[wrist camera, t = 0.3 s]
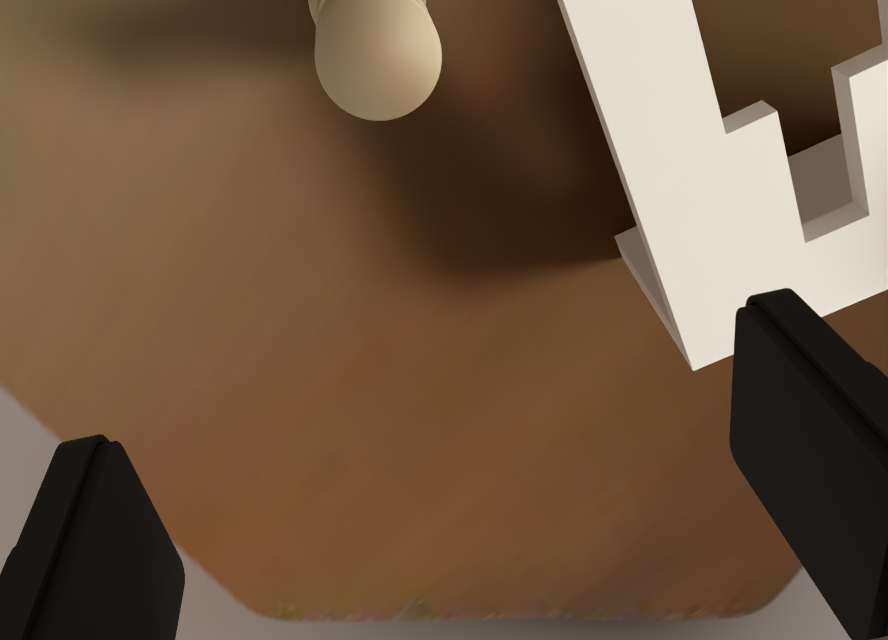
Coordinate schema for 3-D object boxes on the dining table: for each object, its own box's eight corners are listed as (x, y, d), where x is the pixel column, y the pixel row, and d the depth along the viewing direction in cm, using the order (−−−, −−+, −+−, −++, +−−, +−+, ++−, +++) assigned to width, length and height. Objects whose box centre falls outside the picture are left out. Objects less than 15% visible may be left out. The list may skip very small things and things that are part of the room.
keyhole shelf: (476, -129, 32) (528, -100, 23) (817, -312, 30) (1005, -350, 21) (622, 257, 42) (693, 371, 34) (878, 143, 41) (1018, 234, 32)
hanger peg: (391, -96, 32) (414, -52, 23) (440, 16, 34) (477, 92, 26) (286, -39, 33) (271, 23, 24) (343, 66, 35) (348, 156, 27)
